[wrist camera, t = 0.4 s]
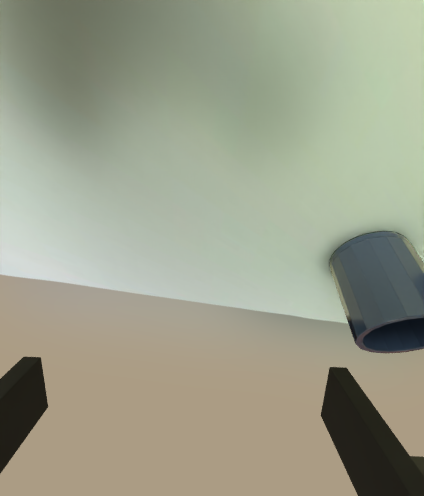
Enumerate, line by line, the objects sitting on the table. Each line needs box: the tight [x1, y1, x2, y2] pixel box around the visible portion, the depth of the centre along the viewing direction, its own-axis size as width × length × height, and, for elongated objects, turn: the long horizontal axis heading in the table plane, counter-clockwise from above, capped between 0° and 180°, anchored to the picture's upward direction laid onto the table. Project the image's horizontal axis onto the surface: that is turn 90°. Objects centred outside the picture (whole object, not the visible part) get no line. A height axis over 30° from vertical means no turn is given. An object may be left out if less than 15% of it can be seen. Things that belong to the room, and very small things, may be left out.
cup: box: [330, 232, 424, 353], centre depth 28 cm, size 9×9×10 cm
